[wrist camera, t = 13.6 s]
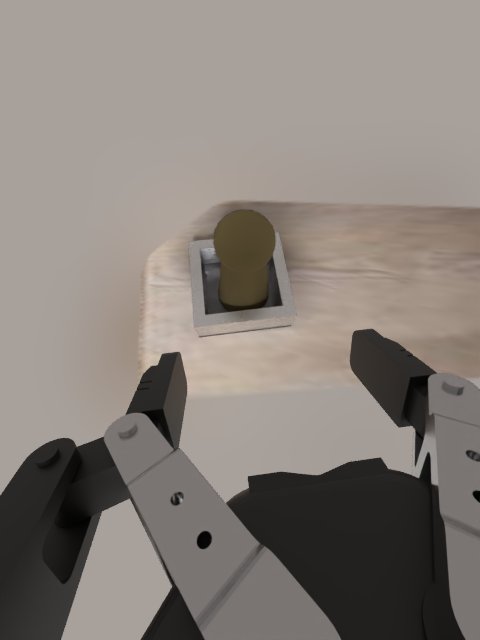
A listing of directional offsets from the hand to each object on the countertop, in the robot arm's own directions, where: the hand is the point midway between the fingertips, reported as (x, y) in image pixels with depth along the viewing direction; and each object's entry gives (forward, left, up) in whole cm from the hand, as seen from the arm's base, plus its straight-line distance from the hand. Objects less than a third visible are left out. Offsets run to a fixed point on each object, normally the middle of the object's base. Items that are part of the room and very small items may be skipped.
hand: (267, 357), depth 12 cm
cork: (0, -11, -15) cm, 19 cm away
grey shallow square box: (0, -12, -16) cm, 19 cm away
